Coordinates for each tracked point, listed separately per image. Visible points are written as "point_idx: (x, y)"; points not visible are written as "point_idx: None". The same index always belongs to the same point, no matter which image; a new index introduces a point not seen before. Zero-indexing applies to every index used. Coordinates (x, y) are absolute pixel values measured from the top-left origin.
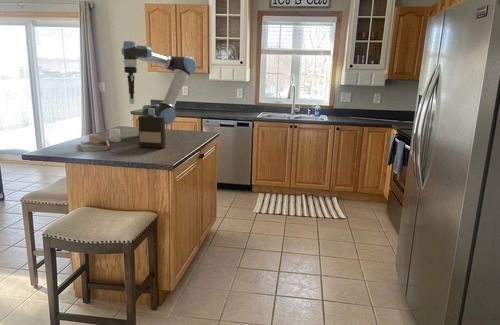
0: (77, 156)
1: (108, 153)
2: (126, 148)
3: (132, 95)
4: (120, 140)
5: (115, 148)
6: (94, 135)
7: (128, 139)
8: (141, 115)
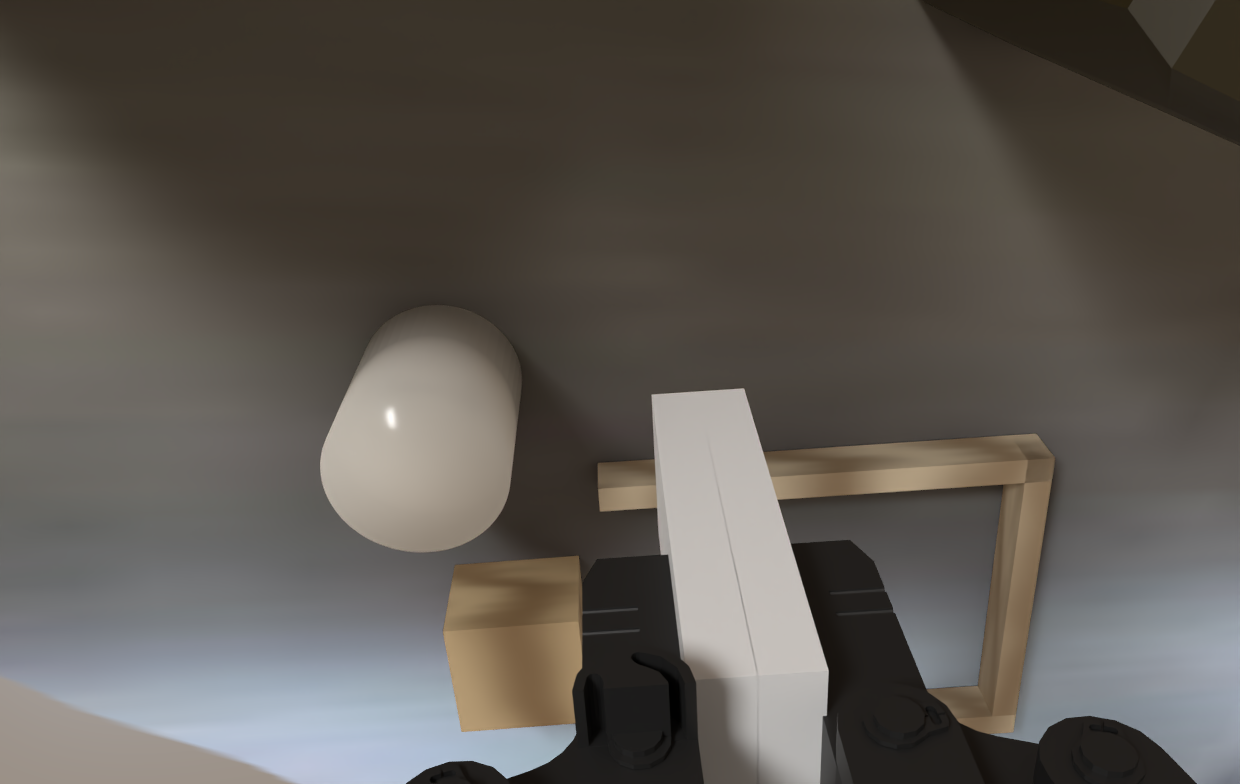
0: (1230, 708)
1: (1231, 450)
2: (1020, 236)
3: (901, 669)
4: (450, 310)
5: (969, 375)
6: (527, 675)
7: (309, 181)
8: (1202, 79)
